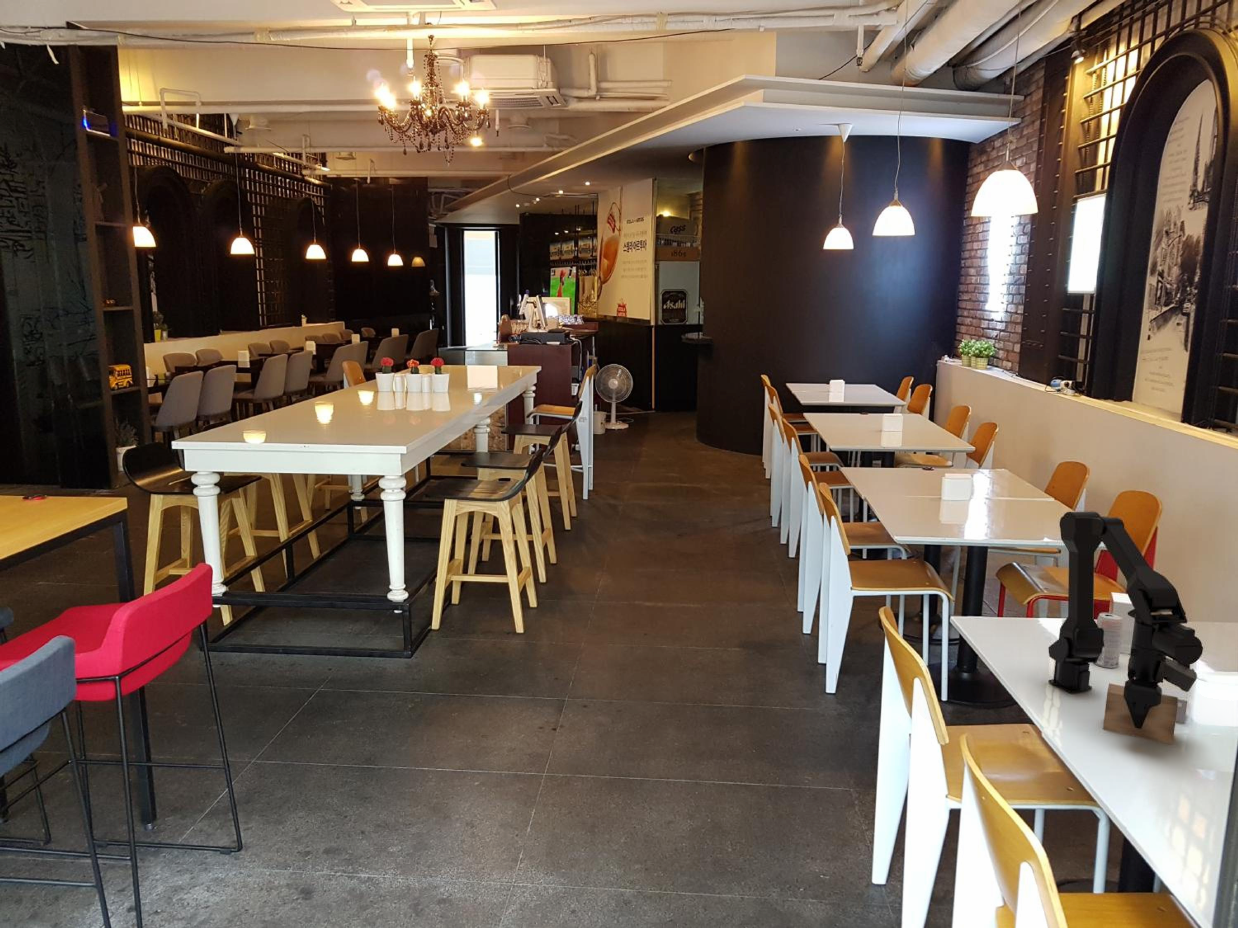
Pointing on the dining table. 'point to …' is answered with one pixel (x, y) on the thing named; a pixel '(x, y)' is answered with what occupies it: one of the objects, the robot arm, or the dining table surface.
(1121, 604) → the small box
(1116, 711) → the brown wooden block
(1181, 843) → the dining table surface
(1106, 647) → the energy drink
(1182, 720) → the letter cube
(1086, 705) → the dining table surface
